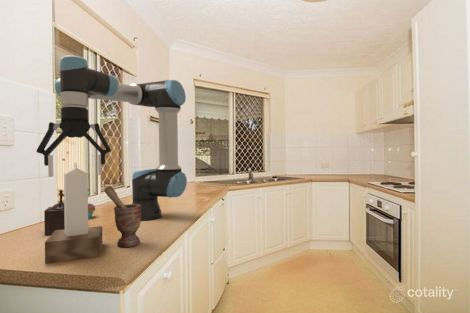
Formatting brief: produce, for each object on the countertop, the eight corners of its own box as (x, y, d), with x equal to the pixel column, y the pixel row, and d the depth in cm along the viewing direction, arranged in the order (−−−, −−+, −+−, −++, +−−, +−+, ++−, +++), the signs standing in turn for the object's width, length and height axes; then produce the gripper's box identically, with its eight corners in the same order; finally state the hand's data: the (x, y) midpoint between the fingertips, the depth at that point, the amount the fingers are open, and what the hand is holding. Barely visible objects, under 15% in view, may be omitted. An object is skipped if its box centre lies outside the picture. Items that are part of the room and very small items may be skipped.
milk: (66, 237, 88) (64, 163, 87) (64, 232, 93) (63, 163, 92) (88, 233, 91) (87, 162, 91) (86, 229, 96) (84, 162, 96)
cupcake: (99, 217, 143) (98, 192, 143) (82, 220, 136) (81, 195, 136) (89, 215, 148) (88, 191, 148) (72, 218, 141) (71, 193, 141)
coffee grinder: (43, 236, 111) (42, 188, 111) (48, 229, 121) (47, 185, 121) (88, 231, 117) (88, 186, 117) (90, 225, 127) (89, 184, 127)
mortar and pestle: (104, 251, 93) (104, 188, 93) (104, 243, 101) (104, 185, 101) (142, 246, 98) (142, 186, 97) (139, 239, 105) (139, 183, 105)
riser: (102, 243, 101) (102, 226, 101) (99, 256, 88) (99, 236, 88) (55, 248, 96) (55, 230, 96) (45, 263, 83) (44, 242, 83)
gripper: (117, 110, 99) (119, 173, 100) (30, 107, 90) (32, 176, 91) (117, 107, 92) (118, 174, 93) (23, 103, 83) (25, 178, 84)
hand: (76, 175), depth 92 cm, fingers open, 13 cm apart
